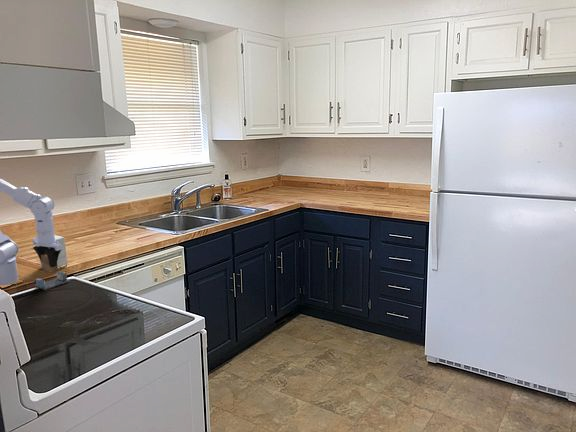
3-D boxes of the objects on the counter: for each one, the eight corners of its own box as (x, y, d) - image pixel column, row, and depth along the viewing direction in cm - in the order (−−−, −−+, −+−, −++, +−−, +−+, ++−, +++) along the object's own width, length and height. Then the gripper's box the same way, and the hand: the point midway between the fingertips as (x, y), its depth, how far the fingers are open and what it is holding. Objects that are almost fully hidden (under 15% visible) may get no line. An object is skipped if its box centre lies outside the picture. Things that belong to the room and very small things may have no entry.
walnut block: (50, 267, 175) (48, 252, 174) (57, 269, 173) (56, 254, 172) (42, 269, 172) (40, 254, 171) (50, 272, 170) (48, 257, 169)
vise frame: (35, 286, 172) (34, 278, 171) (60, 277, 180) (59, 270, 180) (44, 290, 169) (43, 282, 168) (70, 281, 177) (69, 273, 177)
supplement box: (56, 262, 196) (53, 234, 193) (68, 265, 193) (65, 237, 190) (40, 267, 190) (36, 238, 187) (51, 271, 187) (48, 241, 184)
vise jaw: (36, 285, 171) (35, 279, 170) (40, 284, 172) (39, 278, 172) (41, 288, 169) (41, 281, 169) (45, 286, 170) (44, 280, 170)
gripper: (22, 229, 169) (27, 264, 172) (47, 236, 162) (51, 272, 165) (41, 225, 175) (44, 258, 178) (65, 231, 168) (69, 266, 171)
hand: (49, 265), depth 172 cm, fingers closed on walnut block, 4 cm apart
